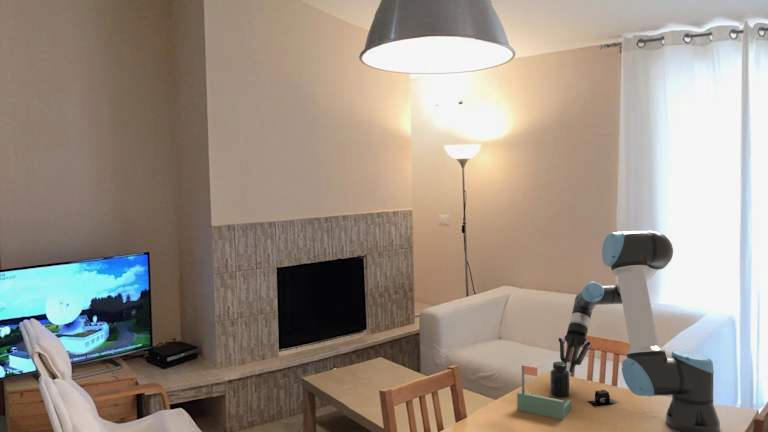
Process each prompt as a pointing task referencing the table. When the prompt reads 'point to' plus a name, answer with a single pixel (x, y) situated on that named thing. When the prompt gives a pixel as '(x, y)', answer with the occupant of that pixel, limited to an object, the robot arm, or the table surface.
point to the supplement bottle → (559, 380)
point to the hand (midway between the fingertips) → (566, 379)
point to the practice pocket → (540, 400)
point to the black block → (600, 401)
